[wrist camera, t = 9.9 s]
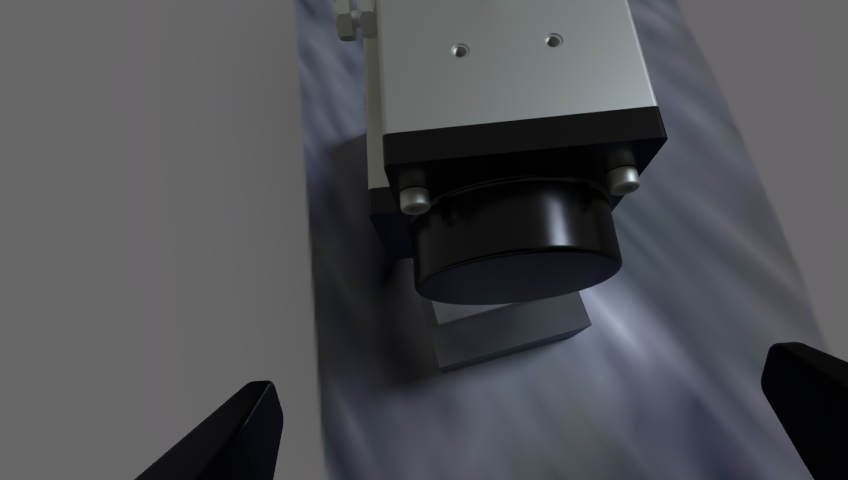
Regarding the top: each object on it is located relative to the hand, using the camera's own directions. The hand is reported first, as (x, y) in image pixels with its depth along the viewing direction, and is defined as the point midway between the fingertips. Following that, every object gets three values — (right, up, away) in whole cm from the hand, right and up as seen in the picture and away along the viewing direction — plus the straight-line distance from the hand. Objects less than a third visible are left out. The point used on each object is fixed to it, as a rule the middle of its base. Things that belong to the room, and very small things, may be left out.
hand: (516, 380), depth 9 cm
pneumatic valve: (0, +4, +11) cm, 12 cm away
